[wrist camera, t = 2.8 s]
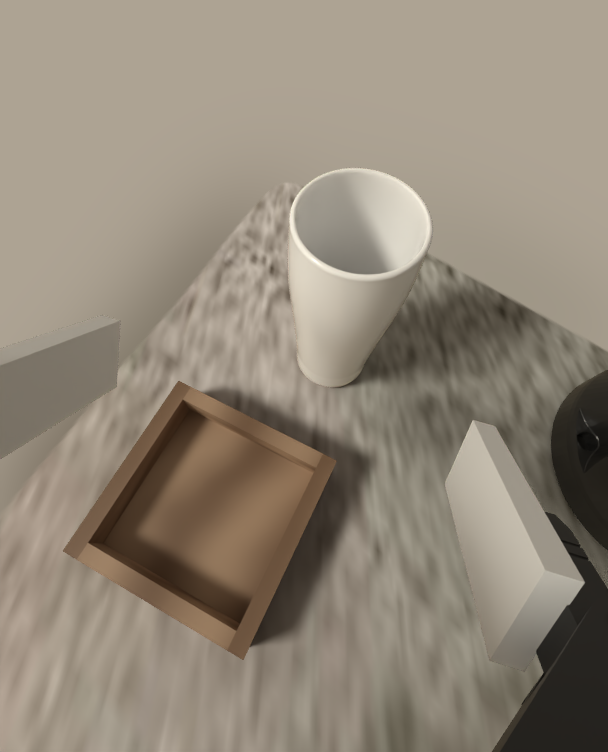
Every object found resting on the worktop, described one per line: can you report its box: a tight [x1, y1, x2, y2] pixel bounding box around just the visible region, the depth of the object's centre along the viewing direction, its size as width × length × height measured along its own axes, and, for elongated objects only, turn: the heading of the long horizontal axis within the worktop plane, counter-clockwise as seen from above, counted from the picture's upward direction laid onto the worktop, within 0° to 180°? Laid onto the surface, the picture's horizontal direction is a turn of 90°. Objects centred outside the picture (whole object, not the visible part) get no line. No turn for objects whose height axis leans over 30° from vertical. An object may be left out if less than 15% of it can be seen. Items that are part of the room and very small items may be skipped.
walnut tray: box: [63, 381, 337, 660], centre depth 26 cm, size 12×12×3 cm
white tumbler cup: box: [287, 168, 433, 387], centre depth 26 cm, size 7×7×15 cm
